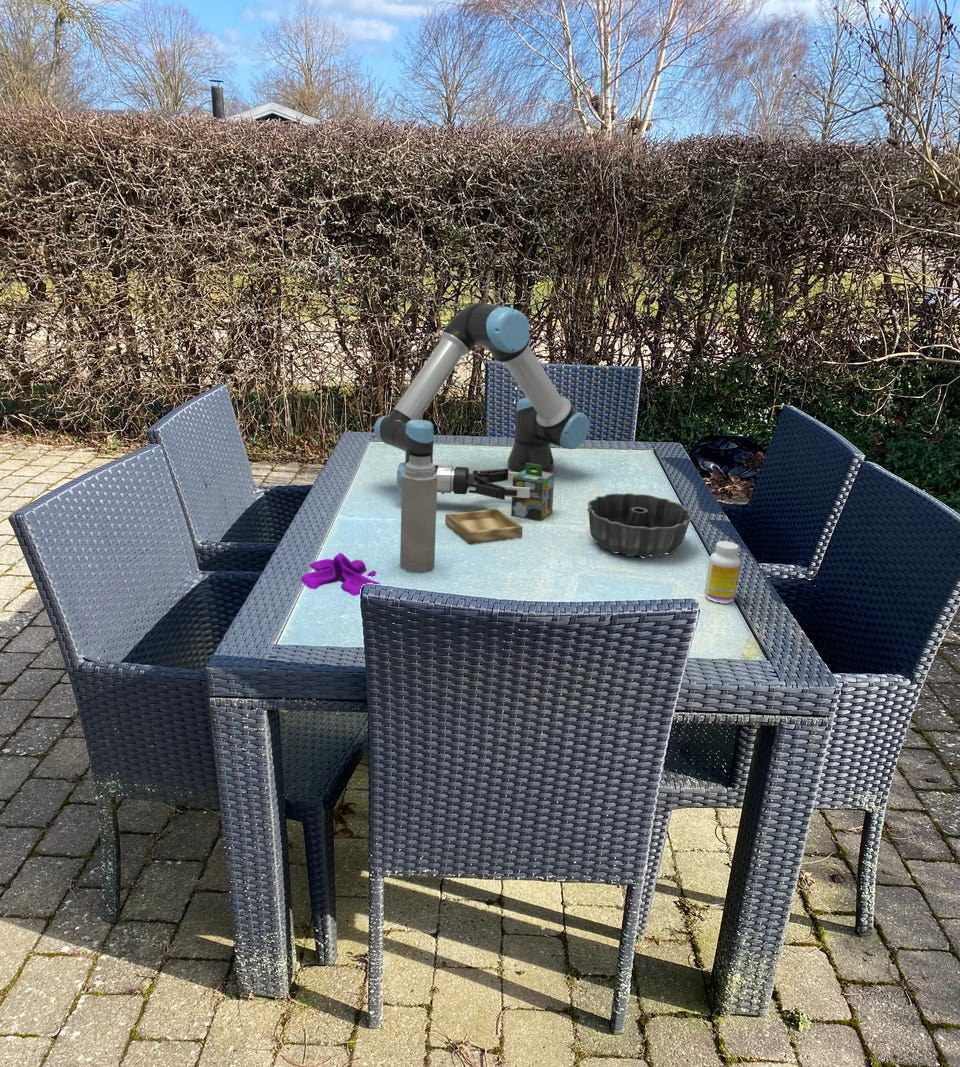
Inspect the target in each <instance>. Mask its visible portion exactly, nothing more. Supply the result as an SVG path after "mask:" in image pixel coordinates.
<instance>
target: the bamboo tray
mask: <svg viewBox="0 0 960 1067" xmlns="http://www.w3.org/2000/svg"><path fill="white" fill-rule="evenodd" d="M444 520H445V523H444V524H446V525H447V526H448V527H449V528H450V529H449V528H448V527H447V526H446V525H445V526H446V527H447V528H448V529H449V530H451V529H452V530H453V531H454V532H455V533H454V532H453V531H452V530H451V531H452V532H453V533H454V534H455V535H457V534H458V535H459V536H460V537H461V538H460V537H459V536H458V535H457V536H458V537H459V538H460V539H461V540H462V541H464V542H465V541H466V542H465V543H467V544H468V545H469V544H470V545H476V544H475V543H478V544H482V543H481V542H486V543H492V542H491V541H494V542H499V541H498V540H502V541H508V540H507V539H510V540H515V539H514V538H518V539H522V538H523V530H524V527H523V526H521V525H520V523H517V522H516V521H514V520H513V519H512V518H511V517H509V516H508V515H507V514H505V513H504V512H502V511H500V510H499V509H498V508H493V509H484V510H474V511H465V512H455V513H447V514H445V518H444ZM521 537H522V538H521Z"/></svg>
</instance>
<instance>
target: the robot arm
mask: <svg viewBox="0 0 960 1067" xmlns="http://www.w3.org/2000/svg"><path fill="white" fill-rule="evenodd" d="M530 330H531V326H530V324H529V320H528V318H527V317H526V316H525V315H524V313H523V312H522V311H519V310H518V309H514V307H511V306H510V307H509V306H502V305H496V304H495V305H494V304H490V303H484V302H475V303H471V304H469V305H467V306H466V307H464V308H462V309H461V310H460V311H459V312H458V313H457V314H456V315H455V316H454V317H453V318H452V319H451V320H450V321H449V322H448V324H447V325H446V326H445V327H444V329H443V330H442V332H441V333H440V337H441V338H440V339H441V340H440V341H439V342H438V344H437V345H436V346H435V348H434V350H433V351H432V352H431V354H430V356H429V357H428V358H427V360H426V362H424V365H423V366H422V368H420V370H419V372H418V373H417V375H416V376H415V377H414V378H413V380H412V382H411V384H409V386H408V388H407V389H406V390H405V392H404V393H403V395H402V397H401V398H400V399H399V401H398V402H397V404H396V405H395V406H394V408H393V409H392V411H391V412H390V414H389V415H383V416H381V417H378V418H377V420H376V421H375V423H374V427H373V431H374V434H375V437H376V438H377V440H379V441H381V442H382V443H383V444H385V445H387V446H392V447H394V448H397V449H398V450H401V451H404V452H405V453H404V454H405V458H404V459H405V460H404V462H400V463H399V464H398V467H397V470H396V472H397V474H396V485H397V487H398V488H399V489H400V490H402V473H403V472H405V464H406V463H408V462H409V456H410V454H409V451H410V450H411V449H415V448H423V449H428V450H430V451H431V455H430V456H431V463H433V464H434V461H433V460H434V457H433V456H434V440H435V434H434V424H433V423H432V422H431V421H429V420H426V419H425V420H424V419H420V418H421V416H423V414H424V413H425V411H426V409H427V408H428V407H429V405H430V404H431V402H432V401H433V399H434V398H435V396H436V395H437V393H438V392H439V391H440V389H441V388H442V387H443V385H444V383H445V382H446V381H447V379H448V378H449V376H450V375H451V373H452V372H453V370H454V369H455V367H456V366H457V364H458V363H459V362H460V360H461V359H462V357H463V356H465V355H469V354H470V352H471V351H472V349H473V348H475V346H482V347H484V348H486V349H487V350H488V351H489V353H490V354H491V356H492V357H493V359H494V360H495V361H496V362H498V363H503V364H504V366H505V367H506V369H507V370H508V371H509V373H510V374H511V376H512V378H513V379H514V381H515V382H516V384H517V385H518V386H519V388H520V389H521V391H522V392H523V394H524V395H525V397H523V398H520V399H518V401H517V402H516V410H515V422H514V423H515V425H514V441H513V442H514V443H513V446H512V448H511V451H510V454H509V457H507V458H508V459H507V468H502V469H499V468H498V469H485V470H475V469H473V471H472V473H470V470H469V468H468V467H466V466H456V467H454V466H453V465H440V464H434V466H435V470H434V473H436V474H437V493H440V494H441V495H445V494H452V492H453V494H455V495H467V494H468V493H470V494H476V495H480V496H486V497H490V498H494V499H499V500H503V501H504V500H505V497H507V498H508V497H509V498H512V497H520V498H529V496H530V488H527V487H513V485H511V486H510V485H505V486H502V485H499V484H496V483H498V482H504V481H507V483H508V482H509V483H513V477H514V476H515V475H517V474H518V473H519V472H521V471H523V470H525V469H526V466H525V465H526V463H532V464H538V465H541V466H542V471H543V472H549V471H551V472H553V471H554V470H555V468H554V467H555V460H554V457H553V456H554V455H553V453H552V449H551V444H552V445H554V446H558V447H560V448H562V449H567V450H575V449H577V448H579V447H580V446H581V445H582V444H583V443H584V442H585V440H586V438H587V437H588V434H589V430H590V420H589V418H588V416H587V415H586V414H584V413H583V412H581V411H578V410H576V408H575V407H574V406H573V404H572V402H571V401H570V400H569V399H568V398H567V397H565V396H561V395H560V393H559V392H558V390H557V389H556V386H555V385H554V384H553V382H552V380H551V379H550V378H549V376H548V374H547V373H546V370H545V369H544V368H543V366H542V365H541V362H539V360H538V359H537V357H536V355H535V353H534V351H533V350H532V349H531V347H530V343H531V336H530V335H531V333H530ZM553 469H554V470H553ZM509 470H511V471H509ZM530 470H536V471H537V469H536V468H534V467H531V468H530ZM552 470H553V471H552Z"/></svg>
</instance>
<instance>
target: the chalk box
mask: <svg viewBox="0 0 960 1067" xmlns="http://www.w3.org/2000/svg"><path fill="white" fill-rule="evenodd" d="M525 466H526V469H525V470H523V471H521V472H518V474H517V475H515V476H514V477H513V482H512V486H513V487H527V488H530V496H529V498H520V497H511V508H510V510H511V514H510V515H511V517H519V518H523V519H527V518H528V520H532V519H533V521H537V520H539V521H538V522H542V521H543V520H544V519H546V518H547V516H549V515H550V514H551V513H552V512H553V507H554V506H553V505H554V504H553V502H554V490H555V473H554V472H543V471H542V466H541V465H538V464H532V463H526V465H525ZM531 467H534V468H536V469H537V471H536V470H530V468H531Z"/></svg>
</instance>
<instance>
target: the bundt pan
mask: <svg viewBox="0 0 960 1067" xmlns="http://www.w3.org/2000/svg"><path fill="white" fill-rule="evenodd" d="M587 506H588V507H587V508H586V509H587V512H588V521H589V532H590V536H591V537H592V539H593V540H594V541H595V542H597V543H598V544H599V545H600V546H601V547H603V548H604V549H606V548H610V549H609V550H610V552H612V553H613V552H620V553H622V554H623V555H624V554H625V555H624V556H627V555H629V556H628V557H635V556H639V555H640V556H642V557H645V558H646V557H648V556H649V555H652V556H658V557H662V556H663V554H665V553H671V554H672V553H674V552H675V551H676V550H677V549H678V548H679V547H681V545H682V544H683V542H684V541H685V537H686V535H687V531H688V527H689V525H690V523H691V522H692V521H693V515H692V511H691V510H689V509H687V508H686V506H684V505H683V504H682V503H678V502H675V501H671V500H670V499H668V498H665V497H664V498H663V497H658V496H655V495H650V494H643V493H642V494H641V493H640V494H638V493H631V492H627V493H626V492H625V493H608V494H605V495H601V496H599V495H598V496H596V497H595V498H594V499H591V500H589V501H588V502H587ZM634 555H635V556H634ZM640 556H639V557H640ZM652 556H651V557H652ZM642 557H641V558H642Z"/></svg>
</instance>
